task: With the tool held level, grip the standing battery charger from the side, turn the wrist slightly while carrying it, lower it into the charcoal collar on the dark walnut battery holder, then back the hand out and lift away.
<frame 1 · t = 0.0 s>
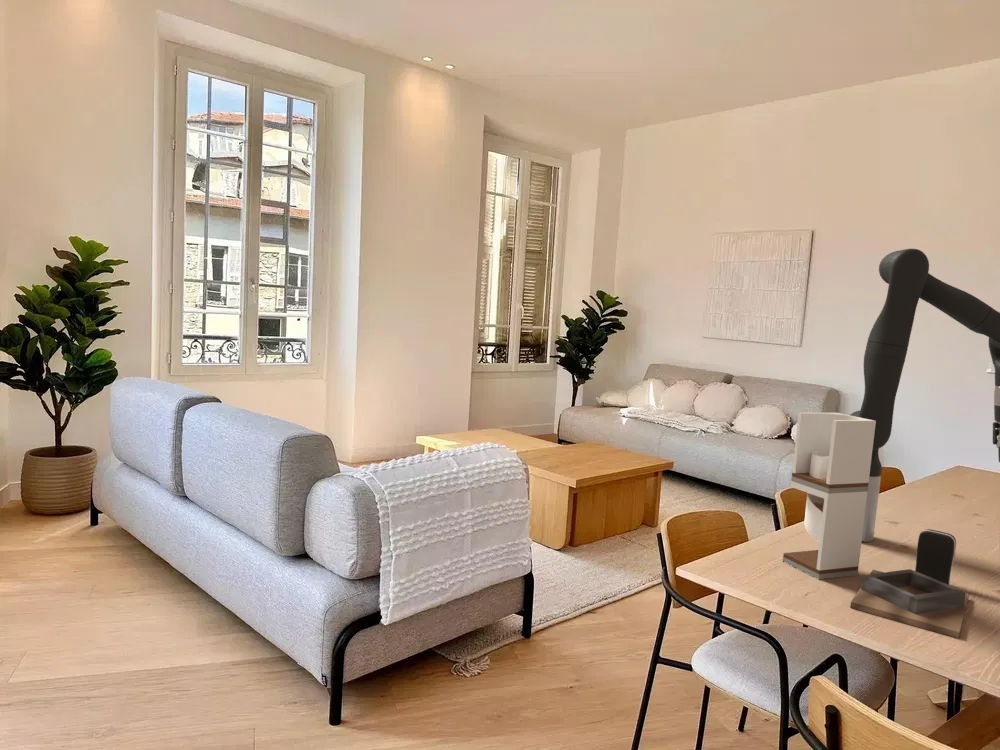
battery charger: (932, 582, 155), on the table
white shelf stand: (819, 569, 159), on the table
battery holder: (910, 603, 142), on the table
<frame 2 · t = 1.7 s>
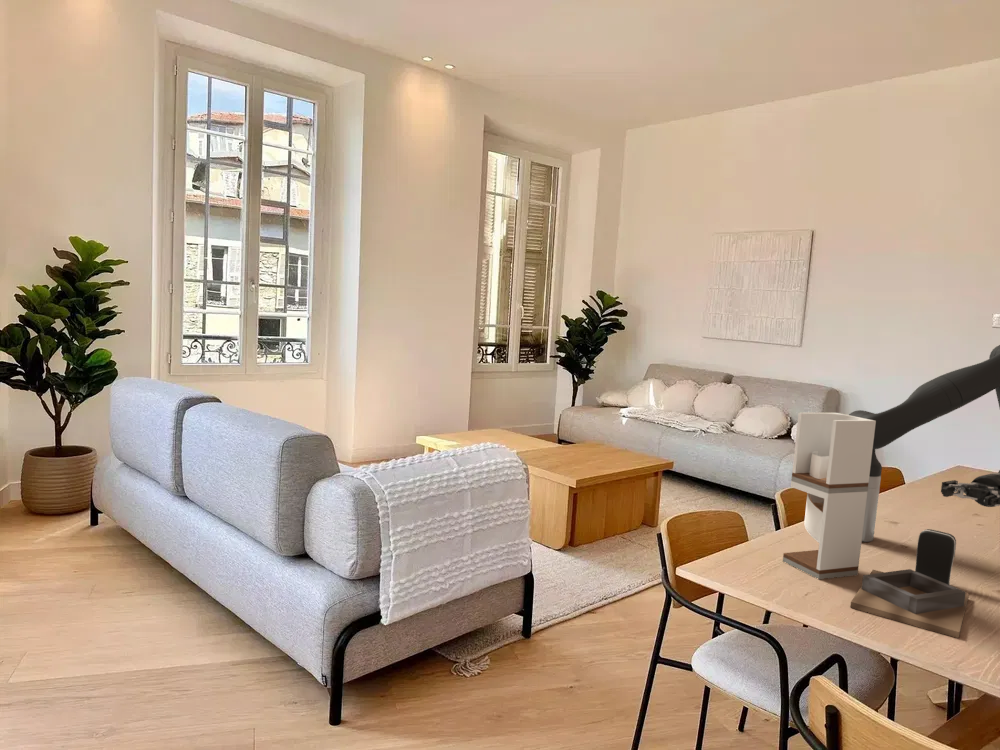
hand: (965, 497, 159), 18 cm above the table, tool horizontal, fingers open, 8 cm apart
nothing on the table moved.
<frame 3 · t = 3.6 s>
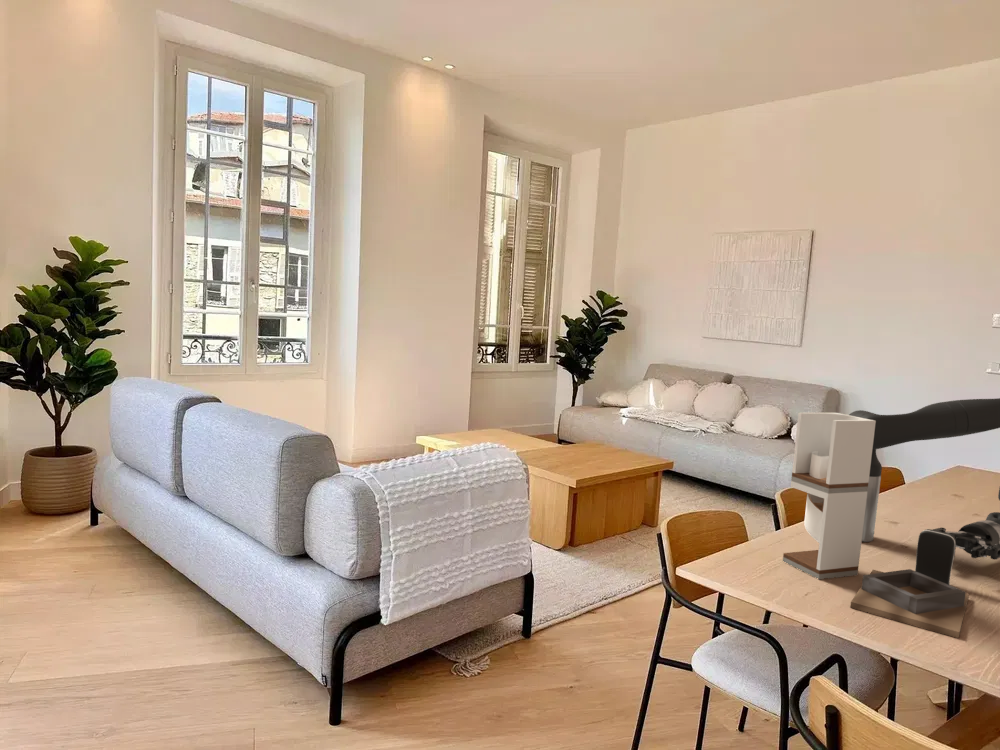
hand: (952, 547, 159), 7 cm above the table, tool horizontal, fingers open, 8 cm apart
nothing on the table moved.
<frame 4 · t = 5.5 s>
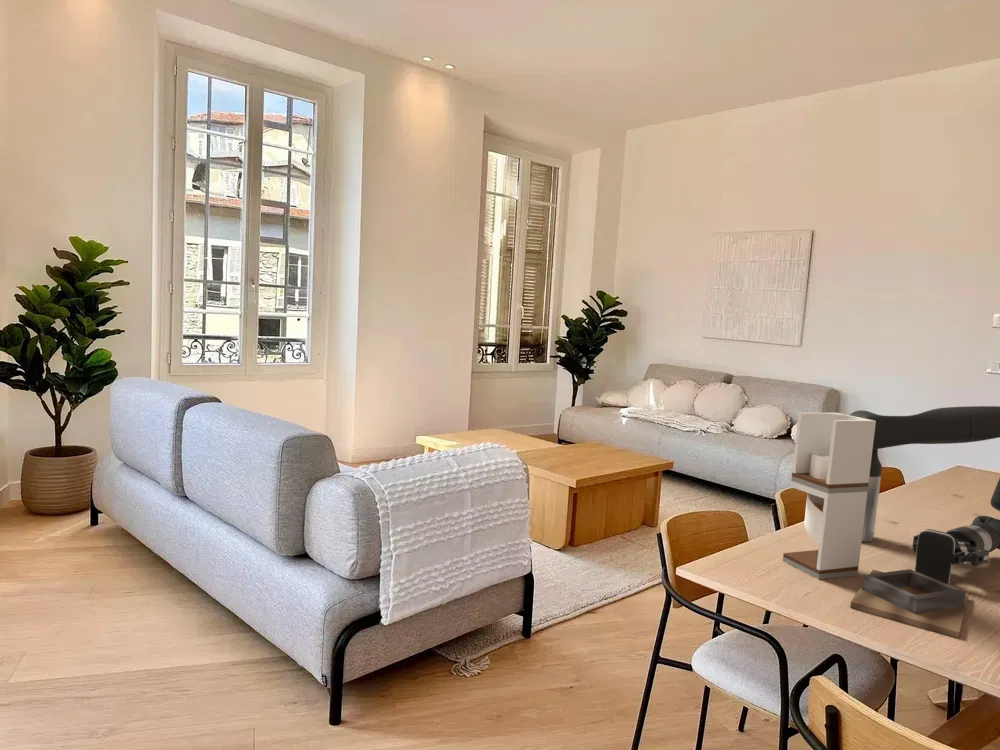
hand: (934, 553, 153), 7 cm above the table, tool horizontal, fingers closed on battery charger, 7 cm apart
battery charger: (932, 582, 155), on the table, touching gripper
everything else where it was.
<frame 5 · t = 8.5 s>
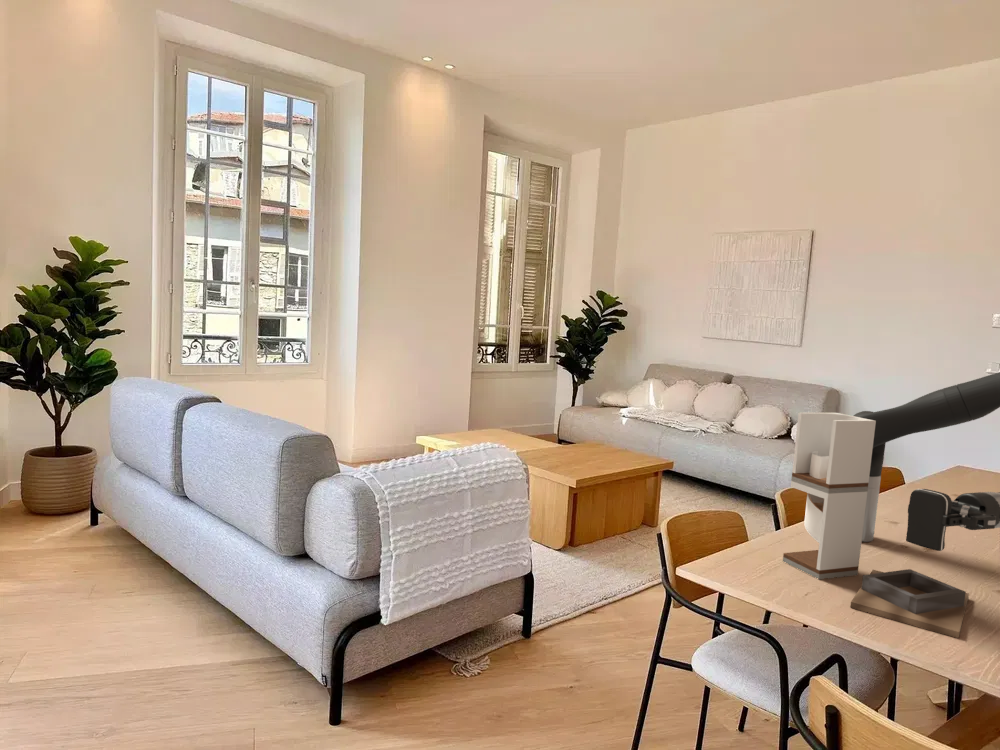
hand: (926, 515, 140), 19 cm above the table, tool horizontal, fingers closed on battery charger, 7 cm apart
battery charger: (926, 546, 141), point 12 cm above the table, touching gripper
everything else where it was.
when the fingers open (9 cm above the table, at t = 11.5 s): battery charger drops 2 cm, resting on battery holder.
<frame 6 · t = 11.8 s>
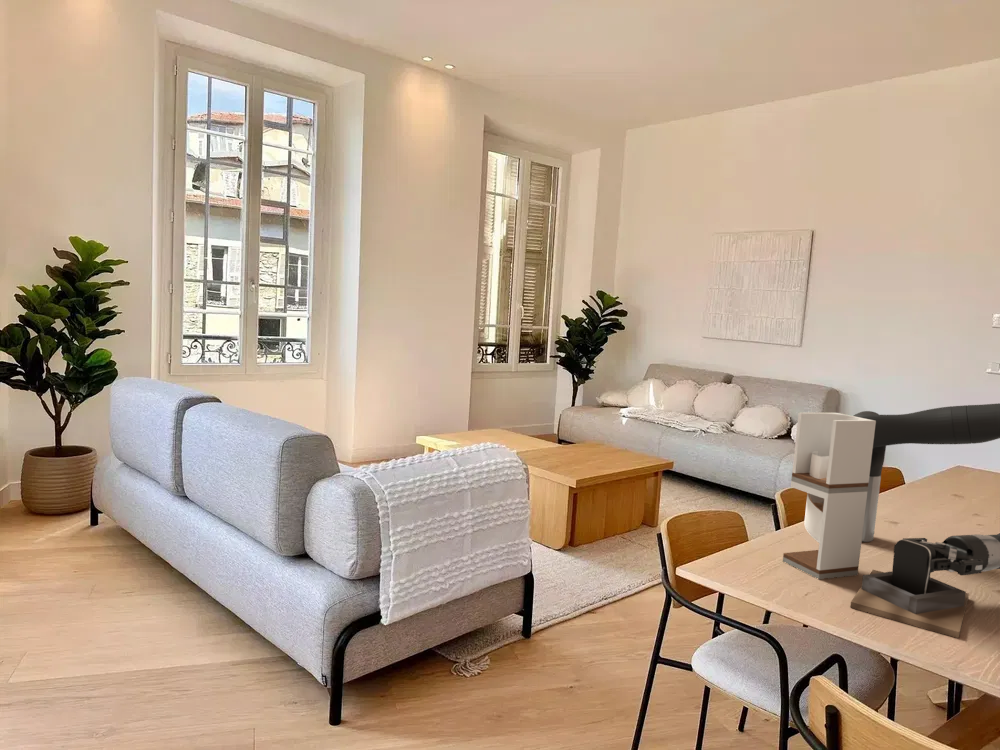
hand: (913, 557, 140), 10 cm above the table, tool horizontal, fingers open, 8 cm apart
battery charger: (910, 597, 142), point 1 cm above the table, touching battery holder
everything else where it was.
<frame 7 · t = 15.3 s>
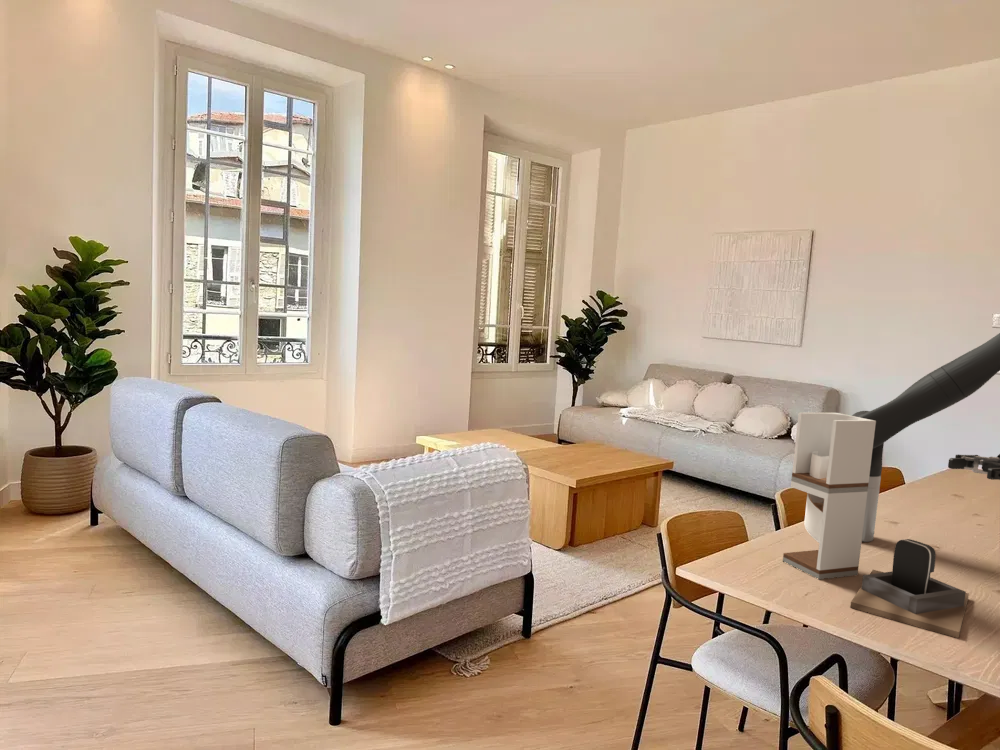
hand: (969, 468, 142), 28 cm above the table, tool horizontal, fingers open, 8 cm apart
nothing on the table moved.
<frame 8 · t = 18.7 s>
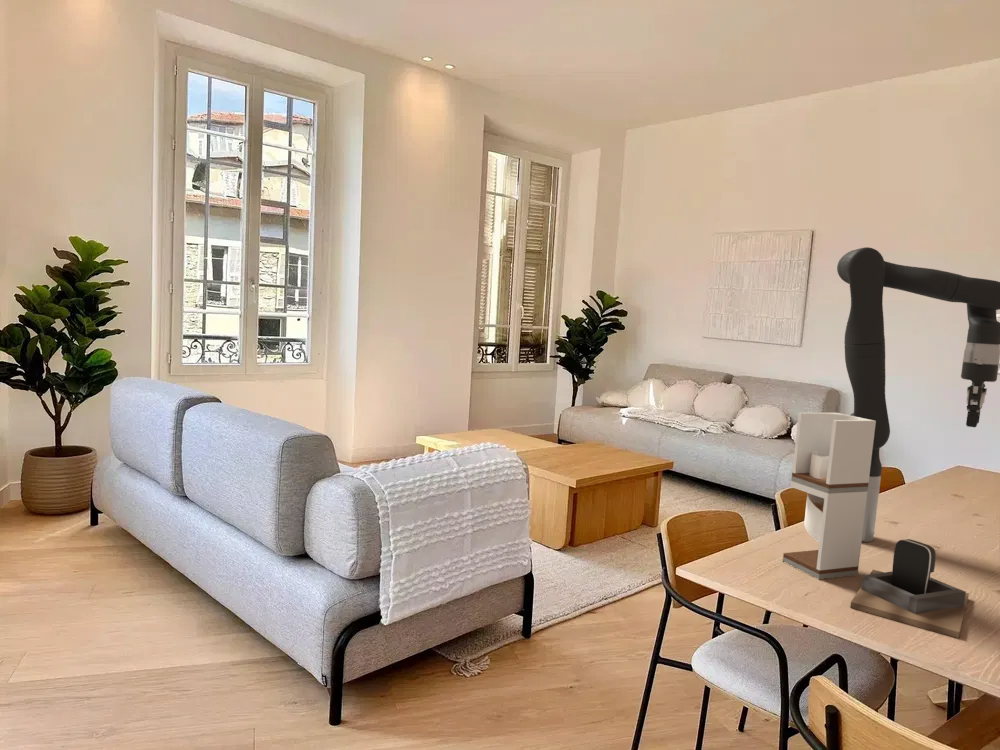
hand: (972, 424, 177), 32 cm above the table, tool pointing down, fingers open, 8 cm apart
nothing on the table moved.
at the end: battery charger 0.6 cm off-centre on the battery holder, point 1.0 cm above the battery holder's base; battery charger tilted 0°; the gripper is holding nothing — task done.
